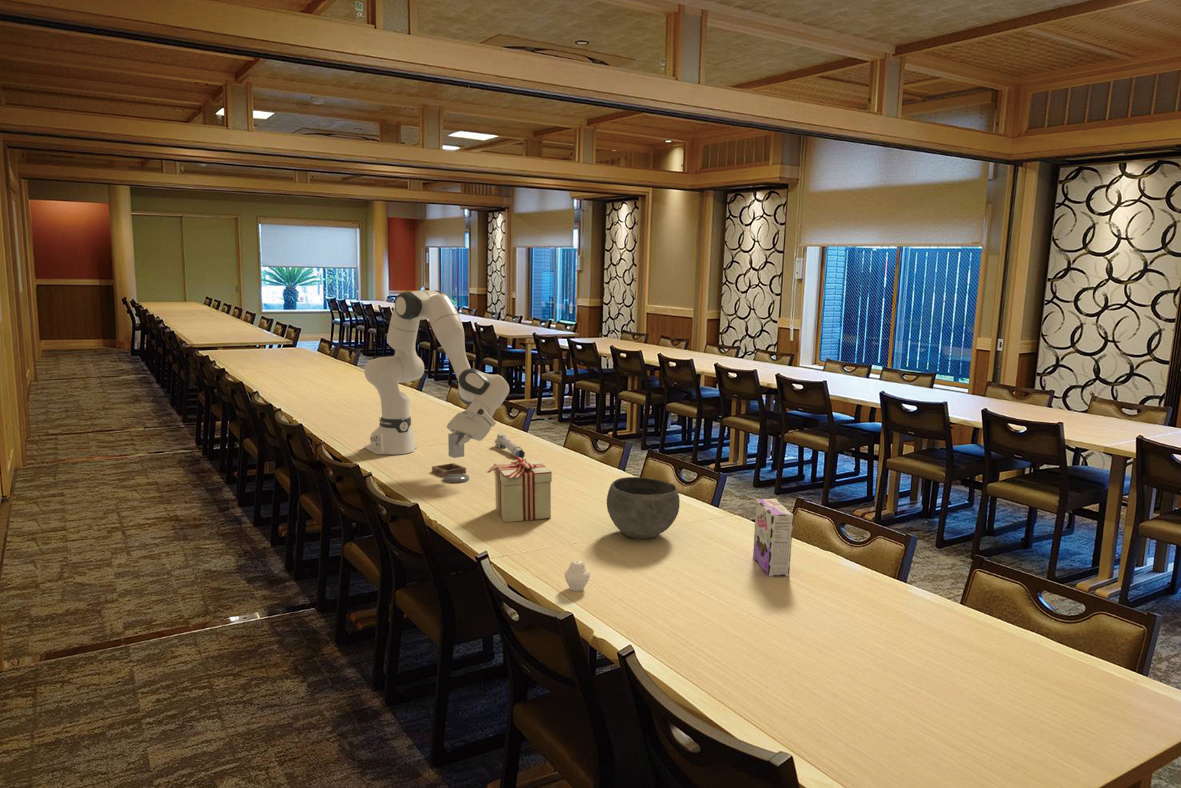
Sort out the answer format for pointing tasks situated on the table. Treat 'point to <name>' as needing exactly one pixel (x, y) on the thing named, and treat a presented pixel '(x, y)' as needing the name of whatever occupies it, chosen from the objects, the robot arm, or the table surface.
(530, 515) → the gift box
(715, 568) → the table surface
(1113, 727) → the table surface
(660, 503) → the bowl
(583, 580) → the beige stone rounded piece
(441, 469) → the socket
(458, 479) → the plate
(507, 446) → the grey flashlight
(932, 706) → the table surface
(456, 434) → the steel block
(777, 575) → the candy box
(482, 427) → the robot arm
